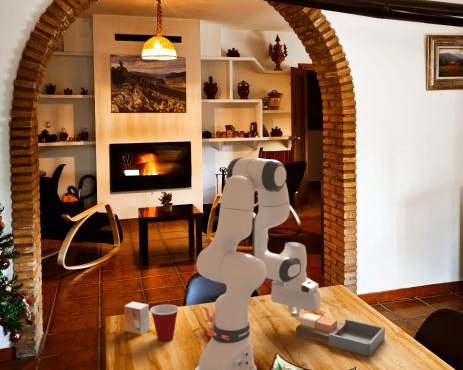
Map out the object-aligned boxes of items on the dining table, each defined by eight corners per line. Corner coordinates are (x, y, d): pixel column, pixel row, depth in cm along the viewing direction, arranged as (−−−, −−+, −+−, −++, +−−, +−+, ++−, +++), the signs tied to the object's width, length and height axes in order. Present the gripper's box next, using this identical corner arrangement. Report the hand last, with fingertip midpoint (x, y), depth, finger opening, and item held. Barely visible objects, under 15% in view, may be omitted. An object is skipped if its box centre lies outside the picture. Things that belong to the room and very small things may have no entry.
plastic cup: (183, 332, 191) (182, 303, 190) (175, 345, 181) (174, 314, 179) (156, 331, 193) (155, 301, 191) (147, 344, 183) (145, 313, 181)
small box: (124, 331, 194) (123, 305, 192) (133, 326, 198) (132, 300, 197) (141, 335, 190) (139, 309, 188) (150, 329, 195) (148, 304, 193)
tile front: (330, 332, 183) (330, 325, 182) (315, 328, 186) (315, 322, 186) (337, 326, 188) (337, 319, 187) (322, 322, 191) (322, 316, 191)
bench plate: (331, 344, 179) (331, 337, 179) (295, 335, 187) (295, 327, 187) (345, 331, 190) (345, 324, 189) (310, 322, 198) (311, 315, 197)
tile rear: (314, 328, 186) (314, 321, 186) (300, 324, 190) (300, 318, 189) (321, 322, 191) (321, 316, 191) (307, 318, 195) (307, 312, 194)
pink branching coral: (244, 337, 187) (244, 311, 185) (198, 335, 189) (197, 309, 188) (248, 324, 198) (248, 299, 196) (204, 322, 201) (203, 297, 199)
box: (369, 357, 170) (369, 344, 169) (328, 346, 178) (328, 334, 178) (384, 339, 183) (384, 327, 182) (345, 329, 191) (345, 318, 190)
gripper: (267, 280, 195) (268, 313, 197) (315, 290, 184) (315, 325, 186) (275, 276, 201) (276, 308, 203) (322, 285, 189) (322, 319, 191)
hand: (295, 316), depth 194 cm, fingers closed
